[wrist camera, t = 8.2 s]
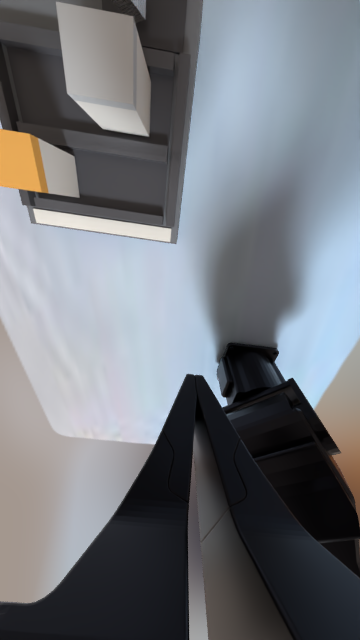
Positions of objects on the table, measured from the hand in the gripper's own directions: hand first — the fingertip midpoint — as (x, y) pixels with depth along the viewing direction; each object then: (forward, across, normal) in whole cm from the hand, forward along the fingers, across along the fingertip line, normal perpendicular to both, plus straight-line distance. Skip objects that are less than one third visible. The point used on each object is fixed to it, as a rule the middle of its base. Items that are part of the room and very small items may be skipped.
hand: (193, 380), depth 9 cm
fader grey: (+10, +6, -13) cm, 17 cm away
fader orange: (+10, +11, -9) cm, 17 cm away
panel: (+12, +8, -11) cm, 18 cm away
